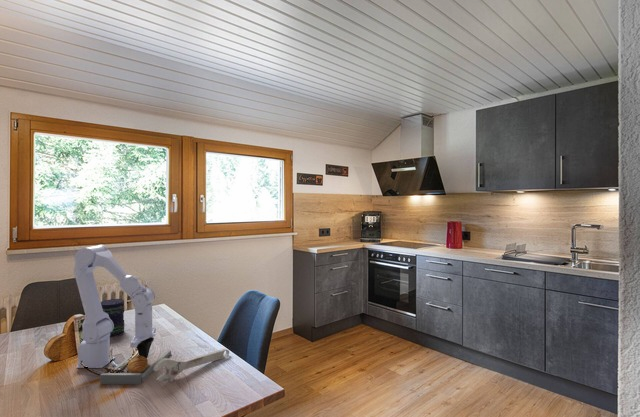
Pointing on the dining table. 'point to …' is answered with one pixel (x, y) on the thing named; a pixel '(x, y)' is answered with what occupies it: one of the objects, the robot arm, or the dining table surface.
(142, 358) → the pastry
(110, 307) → the storage jar
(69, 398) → the dining table surface
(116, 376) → the bay
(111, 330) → the robot arm
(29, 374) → the dining table surface
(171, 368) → the wrench
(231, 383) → the dining table surface
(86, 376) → the dining table surface
